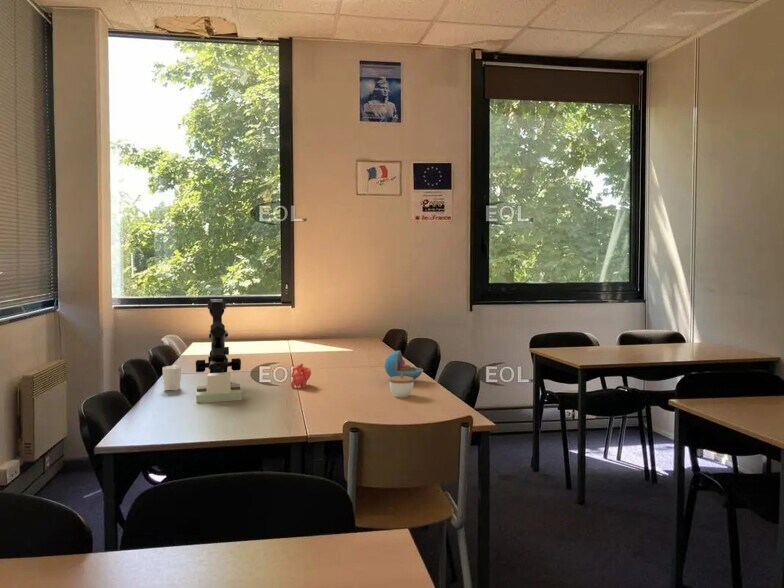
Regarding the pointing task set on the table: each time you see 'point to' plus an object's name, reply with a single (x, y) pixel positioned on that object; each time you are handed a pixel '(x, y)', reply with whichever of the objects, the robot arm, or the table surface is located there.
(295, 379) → the anatomical heart
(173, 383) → the white cup
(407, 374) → the educational model
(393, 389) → the lidded jar
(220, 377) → the cream block
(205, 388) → the strip
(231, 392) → the pad
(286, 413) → the table surface
